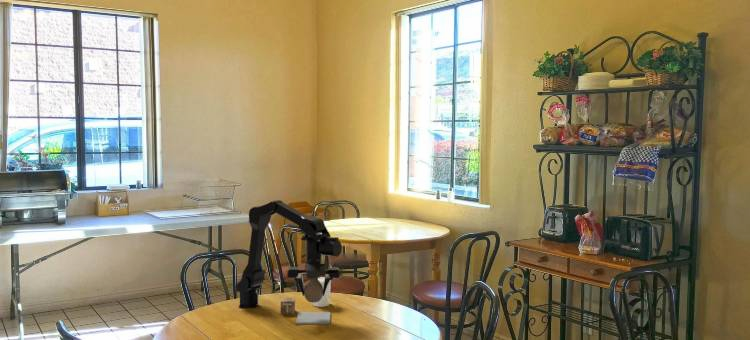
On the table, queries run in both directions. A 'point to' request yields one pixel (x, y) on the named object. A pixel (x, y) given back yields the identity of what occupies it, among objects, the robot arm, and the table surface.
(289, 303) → the letter cube
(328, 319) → the grey mat
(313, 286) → the vase
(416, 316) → the table surface
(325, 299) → the white cup
